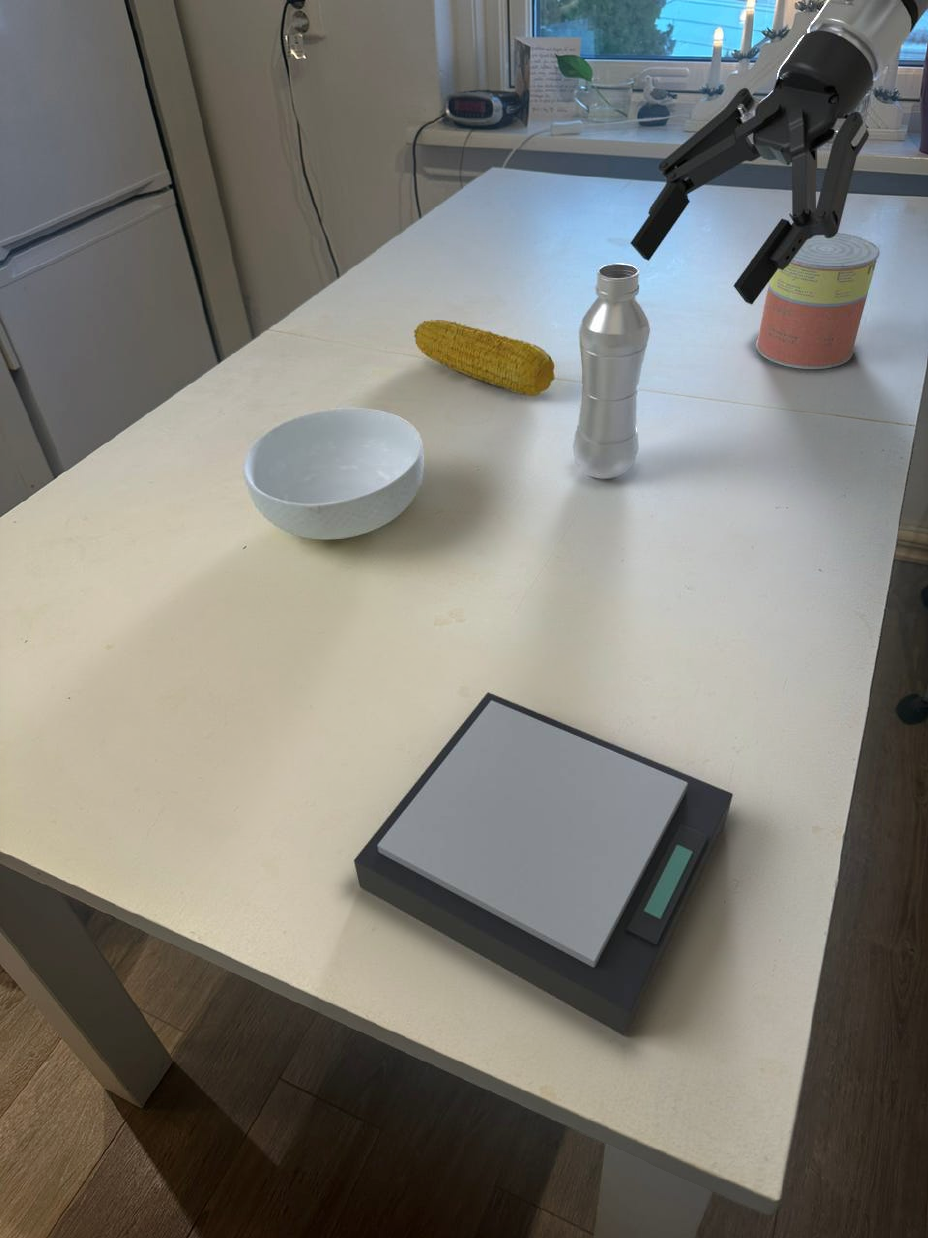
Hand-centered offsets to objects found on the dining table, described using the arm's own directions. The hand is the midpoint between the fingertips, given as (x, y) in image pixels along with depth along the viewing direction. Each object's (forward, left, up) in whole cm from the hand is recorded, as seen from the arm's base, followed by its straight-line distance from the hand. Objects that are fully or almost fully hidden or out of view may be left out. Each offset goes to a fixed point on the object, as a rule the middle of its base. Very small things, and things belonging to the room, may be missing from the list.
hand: (688, 272), depth 80 cm
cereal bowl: (+23, +27, -18) cm, 39 cm away
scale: (-12, +51, -18) cm, 55 cm away
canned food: (-6, -28, -18) cm, 34 cm away
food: (+26, -4, -18) cm, 32 cm away
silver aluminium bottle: (+4, +8, -18) cm, 20 cm away
